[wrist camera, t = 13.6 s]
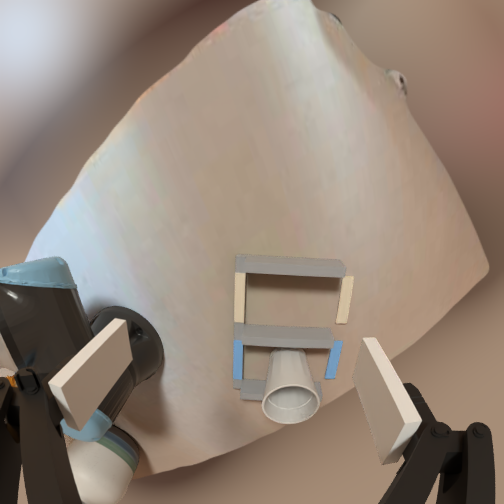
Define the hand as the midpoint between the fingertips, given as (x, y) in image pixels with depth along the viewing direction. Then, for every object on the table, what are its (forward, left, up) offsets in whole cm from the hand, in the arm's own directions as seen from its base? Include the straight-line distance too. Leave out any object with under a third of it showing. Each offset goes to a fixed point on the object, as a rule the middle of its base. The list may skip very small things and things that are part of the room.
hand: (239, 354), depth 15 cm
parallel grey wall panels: (+5, -14, -29) cm, 32 cm away
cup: (+6, -20, -29) cm, 35 cm away
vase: (-35, -53, -29) cm, 70 cm away
